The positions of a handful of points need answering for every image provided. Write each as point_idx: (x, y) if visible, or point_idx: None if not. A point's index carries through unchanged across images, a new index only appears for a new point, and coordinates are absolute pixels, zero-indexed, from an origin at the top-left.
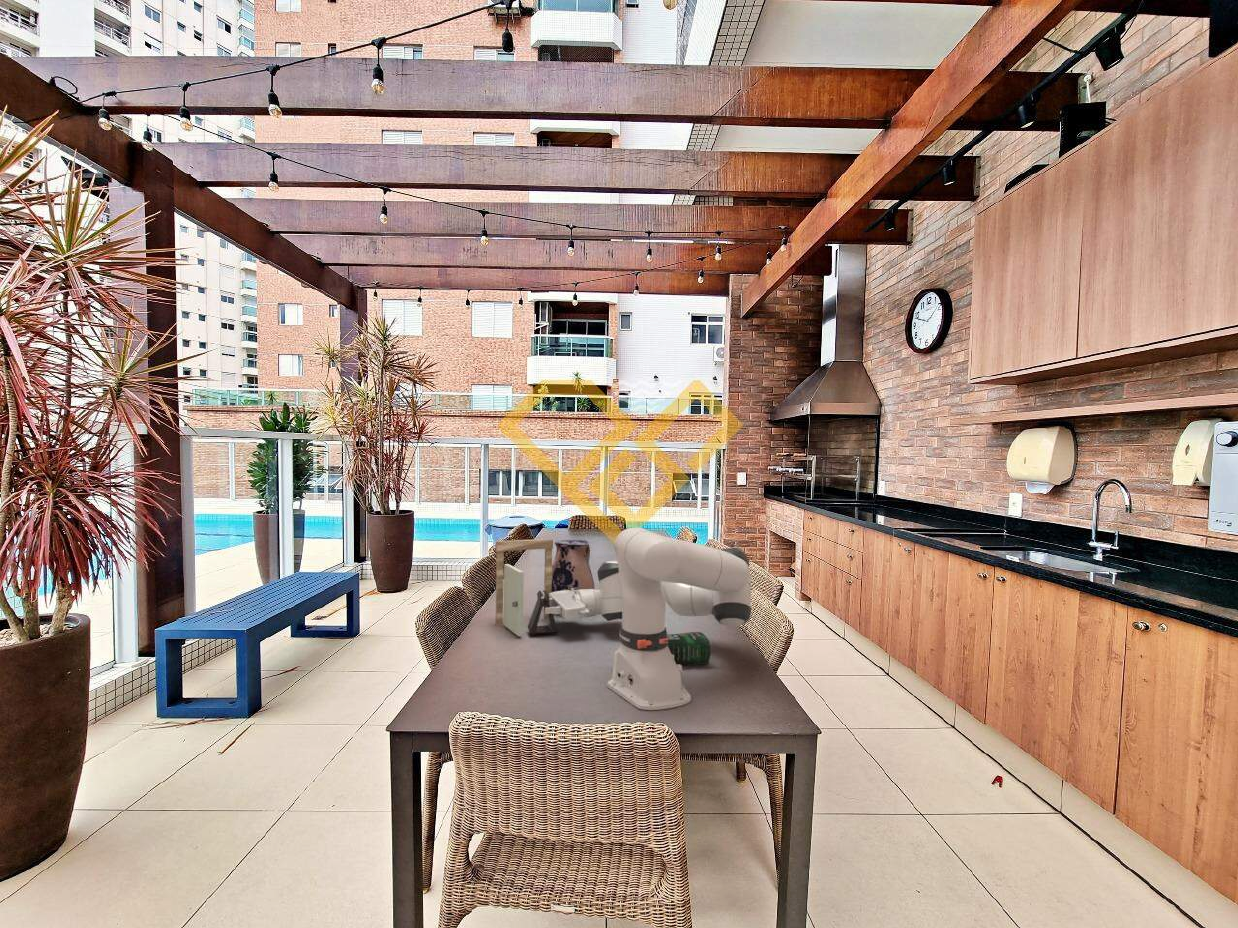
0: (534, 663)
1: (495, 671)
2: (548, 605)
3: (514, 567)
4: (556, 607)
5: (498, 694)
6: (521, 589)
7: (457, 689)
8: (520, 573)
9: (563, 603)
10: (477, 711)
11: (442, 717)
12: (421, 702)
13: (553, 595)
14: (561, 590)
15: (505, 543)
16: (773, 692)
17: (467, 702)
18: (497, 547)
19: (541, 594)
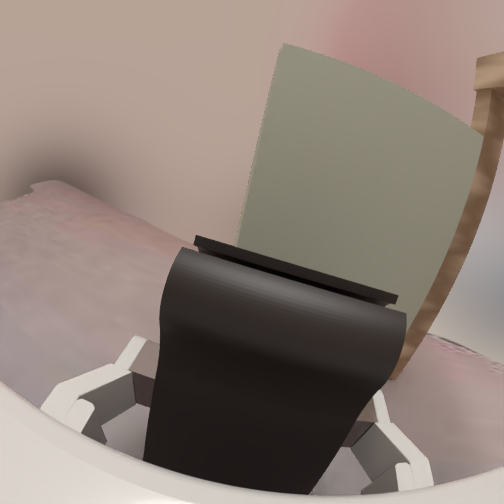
0: (11, 289)
1: (60, 241)
2: (160, 361)
3: (412, 94)
4: (69, 386)
5: (8, 217)
6: (257, 150)
7: (66, 207)
8: (278, 55)
9: (46, 458)
10: (10, 200)
11: (35, 189)
12: (77, 191)
13: (460, 494)
14: None
15: (496, 59)
16: None
17: (31, 201)
18: (476, 76)
19: (241, 250)
